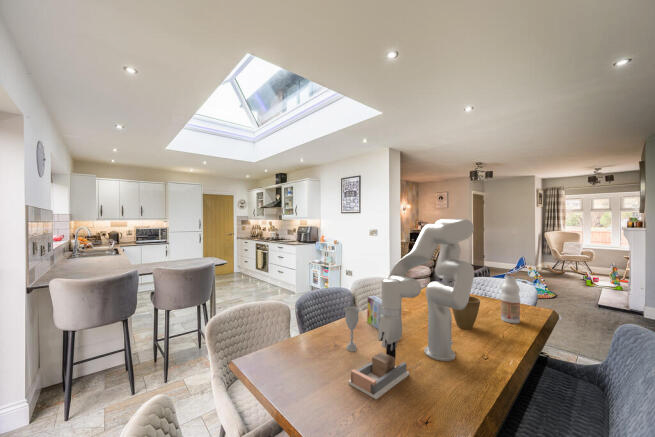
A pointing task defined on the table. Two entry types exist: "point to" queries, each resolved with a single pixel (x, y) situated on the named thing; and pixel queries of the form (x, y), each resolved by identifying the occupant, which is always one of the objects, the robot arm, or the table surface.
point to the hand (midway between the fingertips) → (390, 358)
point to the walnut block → (382, 364)
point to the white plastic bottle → (510, 300)
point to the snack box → (374, 311)
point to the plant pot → (467, 314)
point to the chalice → (351, 324)
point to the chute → (377, 379)
